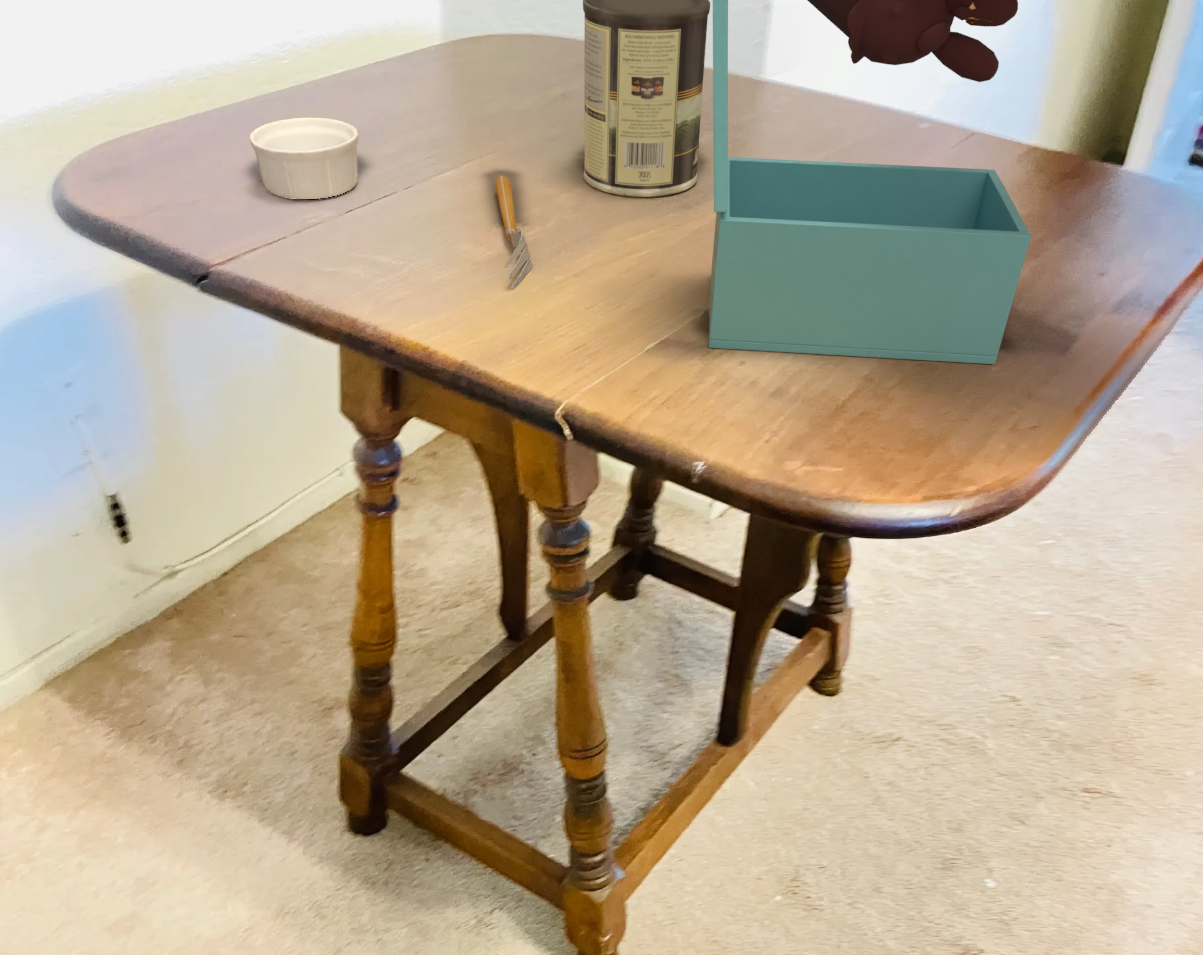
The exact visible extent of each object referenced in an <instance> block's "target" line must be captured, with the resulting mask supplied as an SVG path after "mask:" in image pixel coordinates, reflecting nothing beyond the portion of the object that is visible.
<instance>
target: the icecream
mask: <svg viewBox="0 0 1203 955" xmlns="http://www.w3.org/2000/svg"><path fill="white" fill-rule="evenodd" d="M806 1H807V2H808V3H809V4H811V5H812V7H814V8H815V9H816V10H817V11H818V12H820V14H822V15H823V16H824V17H825V18H826V19H827V20H828V21H830V22H831V23H832V24H833V25H834V26H835V27H836V28H837V29H838V30H839V31H840V32H842V33H843V34H844V35H845V36H846V37H847V38H848V40H847V45H848V47H849V50H850V51H851V53H850V58H851V62H852V64H853V65H856V64H858V63H859V62H860V61H862V59H864V58H866V59H867V60H868V61H870V62H872V63H878V64H883V65H891V66H899V65H906V64H912V63H913V64H914V63H915V62H917V61H919V60H921V59H923V58H925V57H927V56H928V55H930V54H931V53H932V54H933V55H934V57H936V59H937V60H938V61H939V62H940V63H941V64H942V65H943V66H944V67H945V68H947V69H948V70H950V71H952V72H953V73H955V74H956V75H957V76H959V77H960V78H963V79H965V80H966V79H967V80H970V81H973V82H977V83H982V82H983V83H984V82H988V81H990V80H992V79H993V78H994V77H995V75H996V74H997V72H998V70H999V64H1000V61H999V59H998V57H997V55H996V54H995V51H993V49H991V48H990V47H988V46H987V45H986V44H985V43H983V42H982V41H981V40H979V39H977V38H973V37H971V36H969V35H966V34H964V33H961V32H959V31H951V27H952V25H953V23H954V19H955V18H957V19H958V20H960V21H965V23H966V24H968V25H969V26H973V27H974V26H975V27H999V26H1000V27H1001V26H1003V25H1006V24H1007V22H1009V21H1011V19H1013V18H1014V17H1016V14H1017V13H1018V10H1019V1H1018V0H806Z"/></svg>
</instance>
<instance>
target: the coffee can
mask: <svg viewBox="0 0 1203 955" xmlns="http://www.w3.org/2000/svg"><path fill="white" fill-rule="evenodd" d="M582 9H583V10H582V11H583V13H584V99H583V100H584V126H583V128H584V132H583V134H584V139H583V140H584V144H583V146H584V148H583V149H584V160H583V161H584V165H583V168H584V170H583V174H582V175H583V180H584V181H585V182H586V183H587V184H588V185H589V186H591V187H592V188H594V189H596V190H599V191H602V192H604V193H608V194H611V195H616V196H620V197H621V196H622V197H634V198H635V197H636V198H653V197H662V196H663V197H664V196H665V197H666V196H670V195H671V196H672V195H676V194H678V193H682V192H685V191H687V190H689V189H691V188H692V187H693V186H694V185H696V183H697V182H698V177H699V176H698V163H699V148H700V134H701V133H700V132H701V116H702V102H703V86H704V73H705V60H706V48H707V46H706V45H707V32H708V21H709V20H708V17H709V14H710V11H711V1H710V0H582Z"/></svg>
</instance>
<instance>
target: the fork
mask: <svg viewBox="0 0 1203 955" xmlns="http://www.w3.org/2000/svg"><path fill="white" fill-rule="evenodd" d="M494 186H495V191H496V195H497V200H498V206H499V210H500V213H501V218H502V221H503V222H502V223H503V226H504V230H505V235H506V238H507V240H508V241H509V242H511V243H512V247H513V248H514V250H513V253H512V254H511V255H510V257H509V258H508V259H507V261H506V262H505V264H504V268H510V266H511V264H513V262H515V260H517V261H516V264H515V265H514V266H513V268H512V269H511V270H510V272H509V273H508V274H507V278H508V279H512V278H513V277H514V276H515V275H516V274H517V273H518V271H520V269H521V268H522V266H523V268H522V269H521V271H520V273H519V275H518V276H517V278H516V279H515V281H514V282H513V283H512V285H511V290H514V289H515V288H516V287H517V286H518V285H519V284H520V283H521V282H522V281H523V280H524V278H525V277H526V276H527V274H528V273H529V272H530V271H531V270H532V268H533V262H532V259H531V254H530V251H529V247H528V244H527V241H526V237H525V233H524V230H523V229H520V230H519V231H517V223H516V215H515V207H514V206H515V205H514V197H513V189H512V188H513V187H512V182H511V180H510V179H509V177H507V176H505V175H500V176H498V177H497V178H496V180H495V184H494ZM520 253H521V254H520ZM519 255H520V256H519ZM518 257H519V258H518ZM517 258H518V259H517Z"/></svg>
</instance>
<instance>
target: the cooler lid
mask: <svg viewBox="0 0 1203 955" xmlns="http://www.w3.org/2000/svg"><path fill="white" fill-rule="evenodd" d="M728 80H729V0H712V103H713V105H712V108H713V110H712V112H713V114H712V115H713V117H712V120H713V121H712V122H713V129H712V130H713V211H714V213H716V212H726V211H727V174H728V157H729V153H728V150H729V138H728V137H729V134H728V133H729V130H728V129H729V108H728V107H729V81H728Z"/></svg>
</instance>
